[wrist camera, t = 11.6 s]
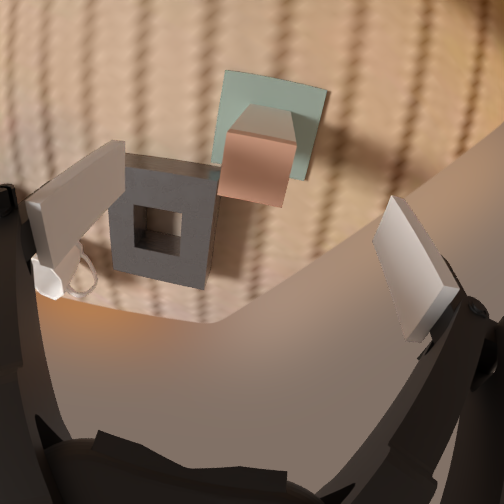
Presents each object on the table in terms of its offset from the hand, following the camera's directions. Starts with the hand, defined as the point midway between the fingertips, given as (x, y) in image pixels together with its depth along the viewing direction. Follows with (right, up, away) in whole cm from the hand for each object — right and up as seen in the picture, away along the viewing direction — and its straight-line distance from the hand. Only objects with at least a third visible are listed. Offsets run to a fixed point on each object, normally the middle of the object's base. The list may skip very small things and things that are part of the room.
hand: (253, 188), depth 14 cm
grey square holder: (-10, +2, +22) cm, 24 cm away
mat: (+1, +10, +15) cm, 18 cm away
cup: (-25, -3, +27) cm, 37 cm away
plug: (+1, +10, +15) cm, 18 cm away
